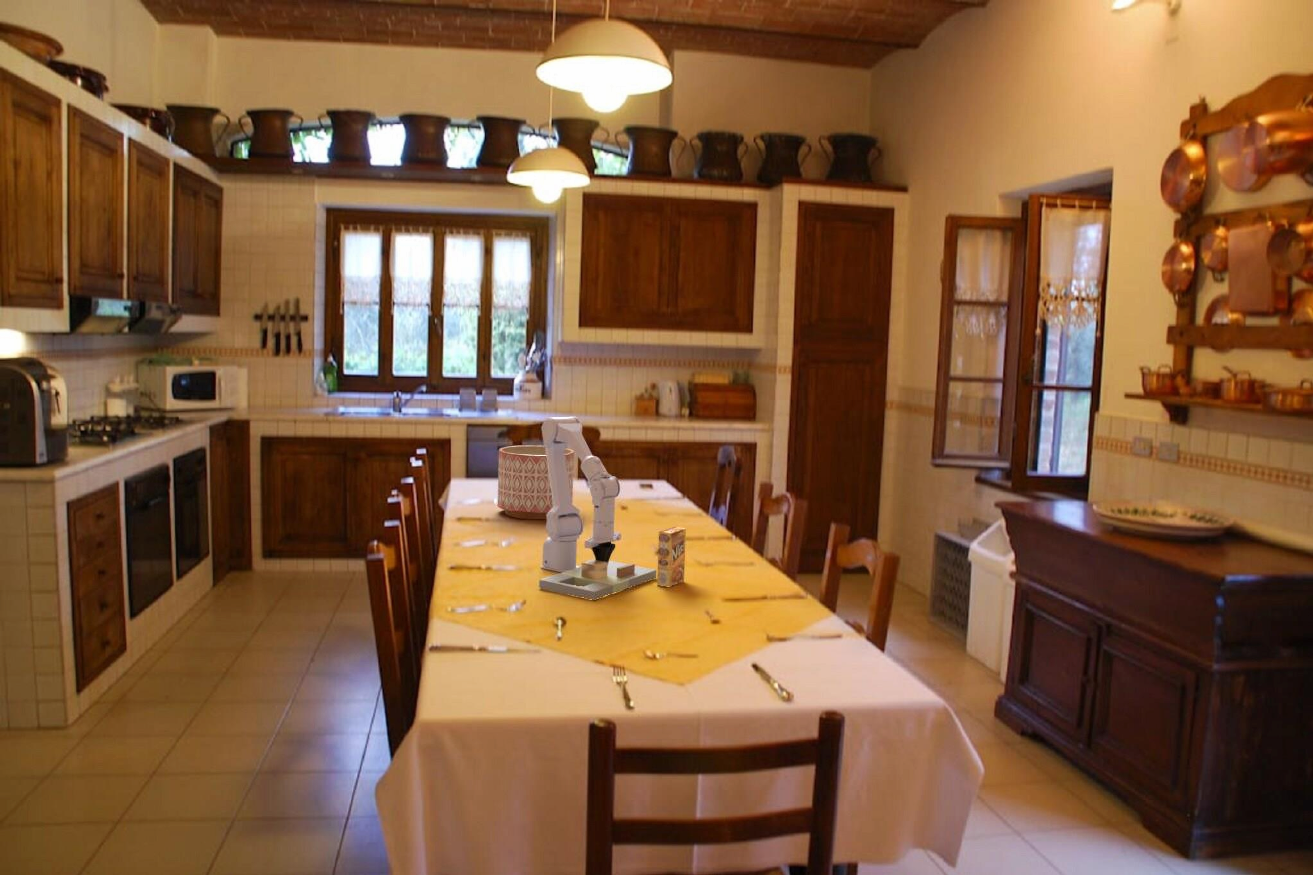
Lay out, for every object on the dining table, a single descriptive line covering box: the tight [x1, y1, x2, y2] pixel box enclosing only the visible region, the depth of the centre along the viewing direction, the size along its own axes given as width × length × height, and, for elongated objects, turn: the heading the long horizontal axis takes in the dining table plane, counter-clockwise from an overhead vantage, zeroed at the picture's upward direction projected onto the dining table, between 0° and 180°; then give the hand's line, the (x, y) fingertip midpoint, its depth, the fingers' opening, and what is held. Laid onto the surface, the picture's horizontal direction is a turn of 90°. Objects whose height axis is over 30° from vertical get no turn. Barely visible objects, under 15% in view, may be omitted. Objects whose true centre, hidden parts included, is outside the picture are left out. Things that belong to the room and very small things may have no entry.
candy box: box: [656, 526, 687, 587], centre depth 275 cm, size 9×4×15 cm, turn 150°
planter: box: [497, 444, 575, 520], centre depth 365 cm, size 27×27×24 cm
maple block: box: [581, 558, 608, 580], centre depth 269 cm, size 5×5×4 cm
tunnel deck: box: [538, 557, 657, 600], centre depth 272 cm, size 18×30×5 cm, turn 148°
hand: (602, 569), depth 273 cm, fingers closed
